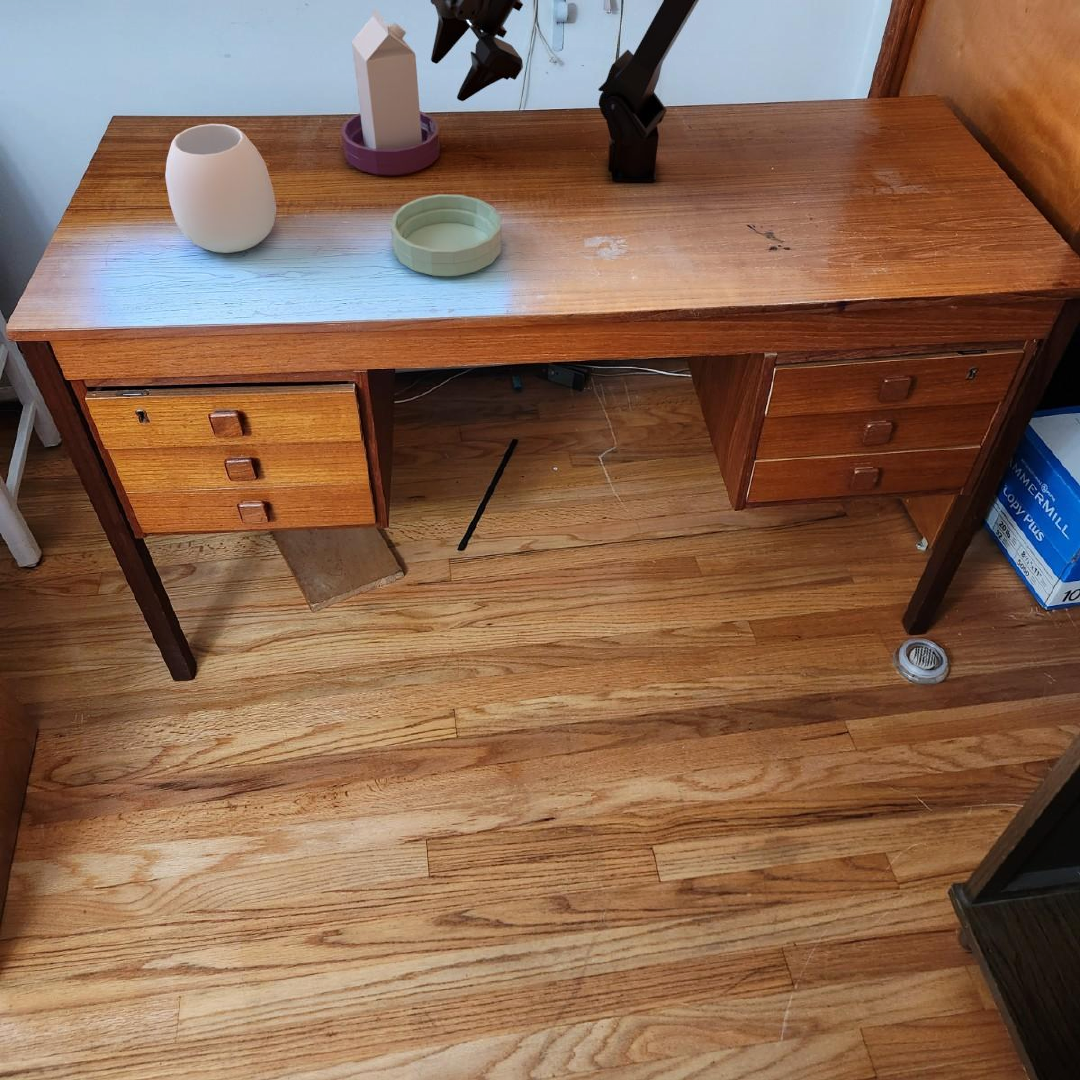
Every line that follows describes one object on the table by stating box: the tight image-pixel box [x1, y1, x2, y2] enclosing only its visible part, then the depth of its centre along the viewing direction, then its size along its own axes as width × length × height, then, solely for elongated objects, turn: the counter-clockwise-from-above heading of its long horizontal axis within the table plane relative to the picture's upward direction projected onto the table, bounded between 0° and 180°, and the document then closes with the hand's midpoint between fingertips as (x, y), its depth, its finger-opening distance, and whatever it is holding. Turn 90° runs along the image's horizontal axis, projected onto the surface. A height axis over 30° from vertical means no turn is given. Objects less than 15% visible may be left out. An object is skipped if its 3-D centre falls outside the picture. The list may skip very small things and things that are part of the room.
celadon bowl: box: [390, 193, 502, 277], centre depth 126 cm, size 14×14×4 cm
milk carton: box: [351, 7, 422, 150], centre depth 137 cm, size 7×7×19 cm
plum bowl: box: [340, 110, 441, 177], centre depth 143 cm, size 14×14×4 cm
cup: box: [164, 123, 278, 254], centre depth 123 cm, size 13×13×14 cm
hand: (446, 80), depth 139 cm, fingers open, 9 cm apart
